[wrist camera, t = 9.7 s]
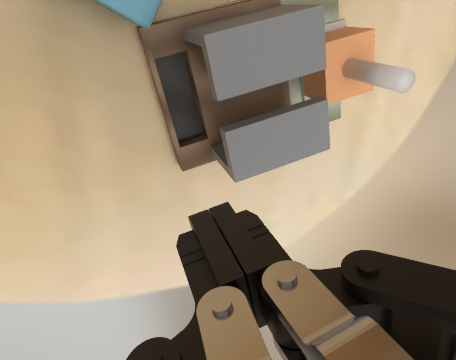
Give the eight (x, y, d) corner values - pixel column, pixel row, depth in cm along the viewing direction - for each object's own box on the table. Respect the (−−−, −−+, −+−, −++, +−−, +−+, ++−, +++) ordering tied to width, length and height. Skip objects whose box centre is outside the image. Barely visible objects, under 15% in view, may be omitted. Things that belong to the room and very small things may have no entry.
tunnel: (181, 29, 34) (203, 35, 27) (280, 4, 36) (323, 4, 29) (212, 153, 41) (235, 182, 34) (293, 126, 43) (329, 148, 36)
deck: (136, 27, 34) (139, 28, 32) (324, -19, 39) (337, -21, 37) (178, 163, 43) (182, 171, 40) (329, 112, 47) (340, 117, 45)
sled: (296, 31, 37) (378, 41, 27) (343, 18, 39) (439, 23, 28) (302, 100, 42) (375, 133, 31) (344, 87, 43) (428, 114, 32)
